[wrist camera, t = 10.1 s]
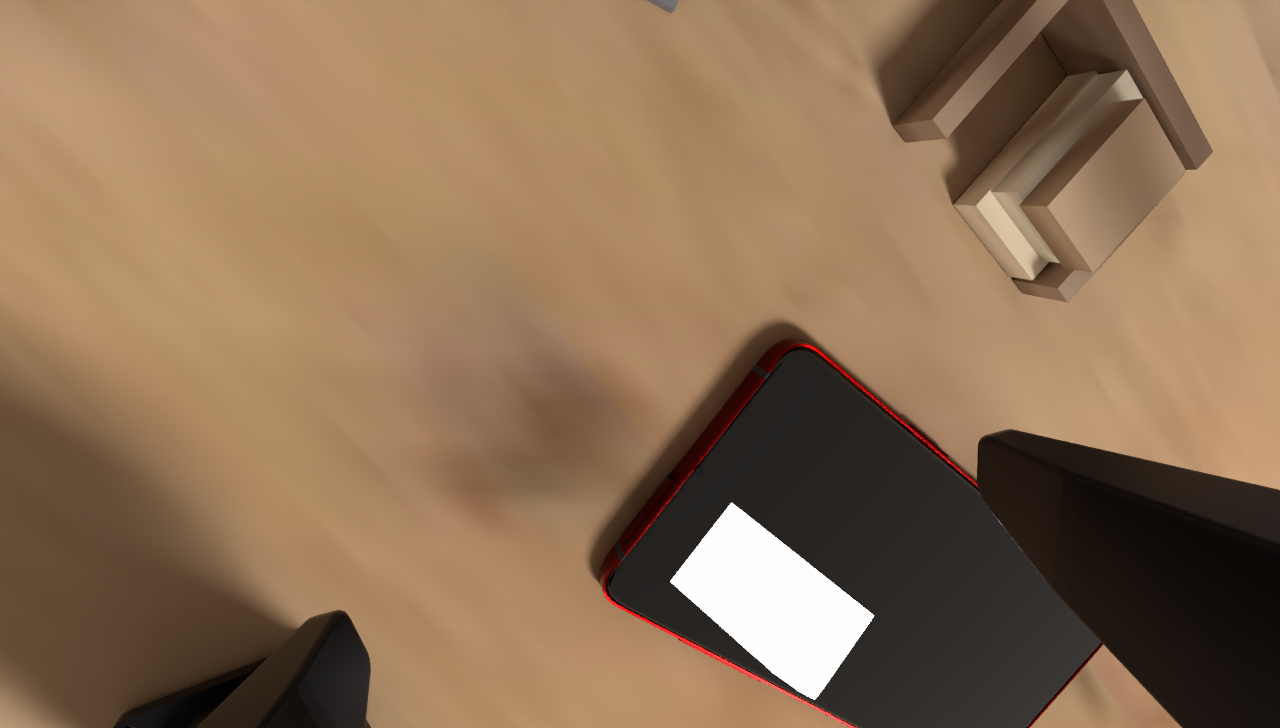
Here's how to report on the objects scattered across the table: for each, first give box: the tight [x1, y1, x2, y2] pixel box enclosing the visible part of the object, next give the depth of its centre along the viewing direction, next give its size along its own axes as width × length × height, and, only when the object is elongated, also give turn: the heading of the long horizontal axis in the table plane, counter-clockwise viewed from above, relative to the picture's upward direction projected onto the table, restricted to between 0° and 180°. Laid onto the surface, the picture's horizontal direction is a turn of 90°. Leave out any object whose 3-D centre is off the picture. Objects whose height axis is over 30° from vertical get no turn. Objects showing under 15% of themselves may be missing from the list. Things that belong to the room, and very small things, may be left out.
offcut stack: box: [953, 70, 1186, 280], centre depth 21 cm, size 6×4×3 cm, turn 137°
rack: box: [893, 0, 1213, 302], centre depth 20 cm, size 7×15×2 cm, turn 47°
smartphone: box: [599, 339, 1103, 728], centre depth 27 cm, size 12×2×25 cm
